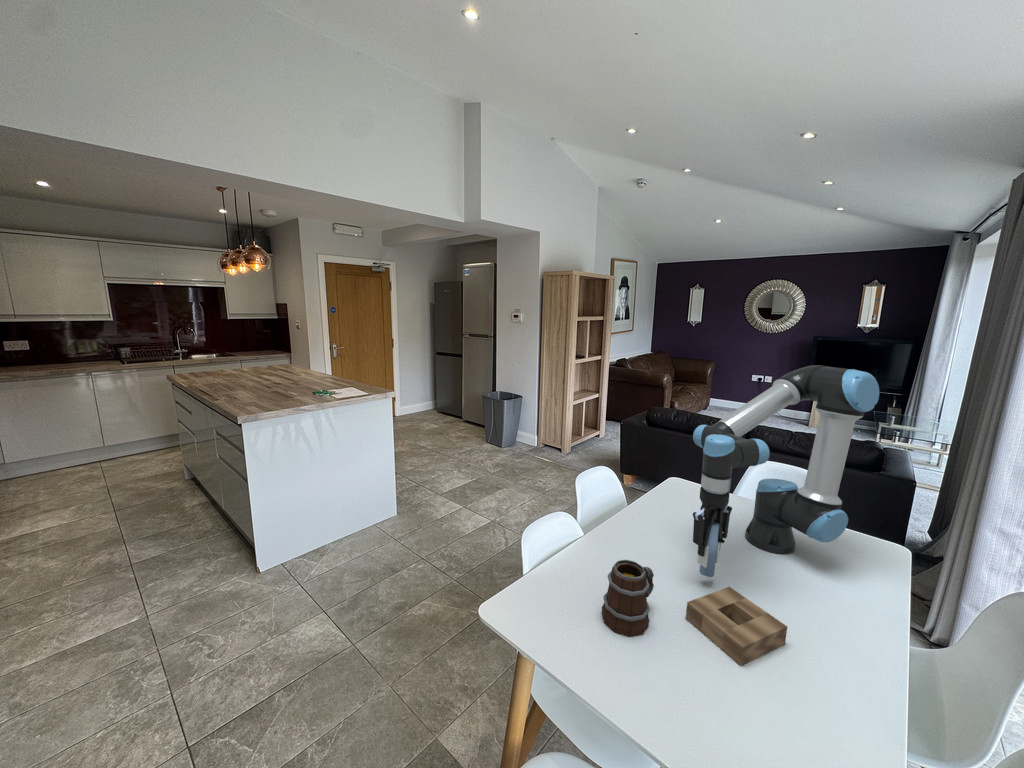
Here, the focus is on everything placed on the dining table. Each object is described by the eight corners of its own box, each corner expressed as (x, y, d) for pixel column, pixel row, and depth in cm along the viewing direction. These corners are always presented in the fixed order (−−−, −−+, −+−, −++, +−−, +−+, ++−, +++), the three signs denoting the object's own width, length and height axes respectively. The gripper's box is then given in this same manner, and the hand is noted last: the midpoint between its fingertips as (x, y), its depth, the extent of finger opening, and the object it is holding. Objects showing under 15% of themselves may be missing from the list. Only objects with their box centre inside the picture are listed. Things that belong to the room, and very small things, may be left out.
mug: (627, 644, 100) (632, 589, 97) (592, 613, 110) (595, 562, 107) (668, 619, 108) (673, 568, 105) (632, 593, 118) (636, 545, 115)
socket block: (727, 602, 115) (729, 586, 114) (784, 644, 101) (787, 626, 100) (685, 618, 108) (687, 602, 107) (740, 666, 94) (743, 647, 93)
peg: (706, 567, 124) (710, 518, 121) (717, 574, 121) (722, 524, 118) (696, 570, 123) (700, 521, 120) (707, 578, 119) (712, 527, 116)
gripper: (724, 478, 124) (717, 549, 128) (682, 488, 117) (676, 562, 121) (747, 488, 117) (738, 562, 121) (704, 499, 110) (697, 577, 114)
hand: (707, 562), depth 121 cm, fingers closed on peg, 4 cm apart
